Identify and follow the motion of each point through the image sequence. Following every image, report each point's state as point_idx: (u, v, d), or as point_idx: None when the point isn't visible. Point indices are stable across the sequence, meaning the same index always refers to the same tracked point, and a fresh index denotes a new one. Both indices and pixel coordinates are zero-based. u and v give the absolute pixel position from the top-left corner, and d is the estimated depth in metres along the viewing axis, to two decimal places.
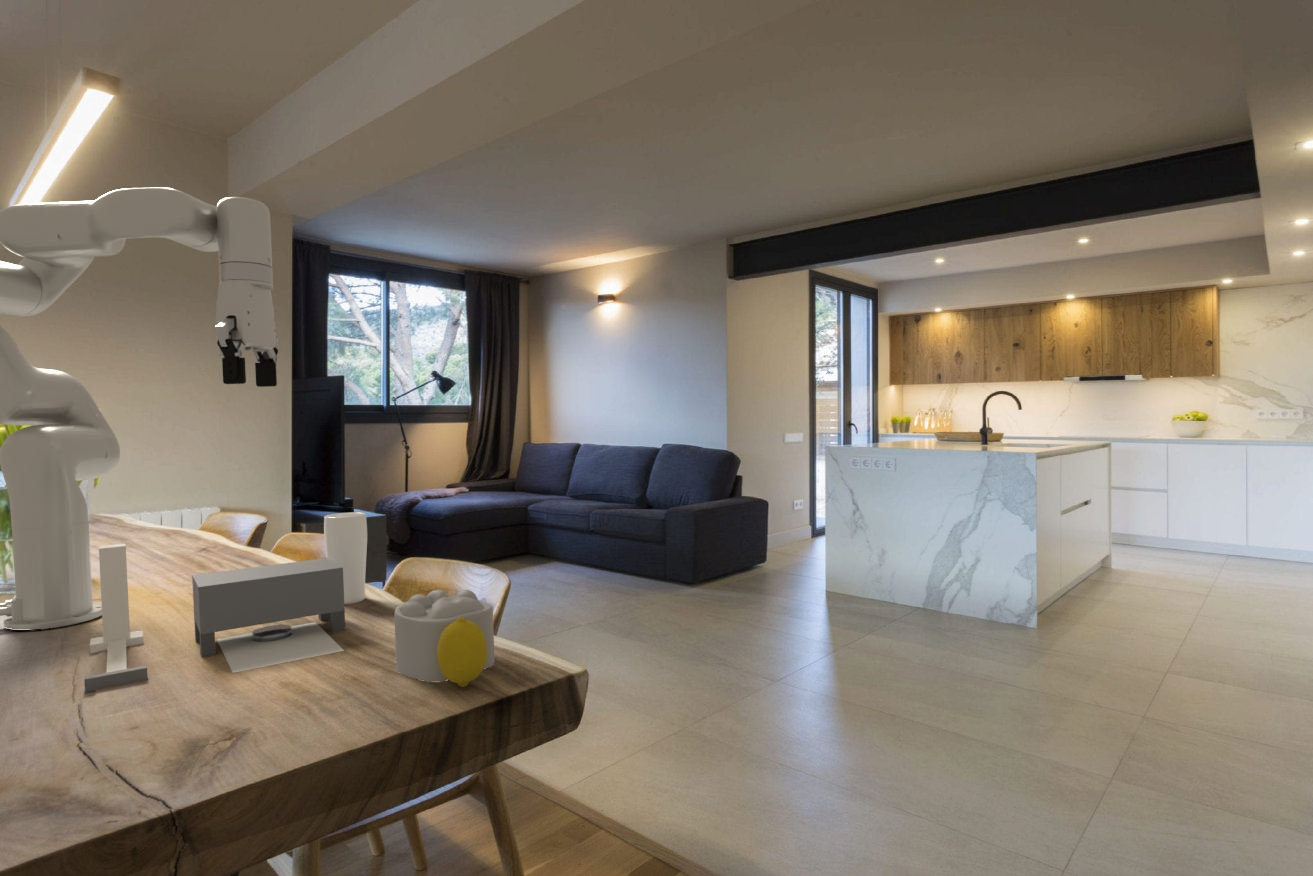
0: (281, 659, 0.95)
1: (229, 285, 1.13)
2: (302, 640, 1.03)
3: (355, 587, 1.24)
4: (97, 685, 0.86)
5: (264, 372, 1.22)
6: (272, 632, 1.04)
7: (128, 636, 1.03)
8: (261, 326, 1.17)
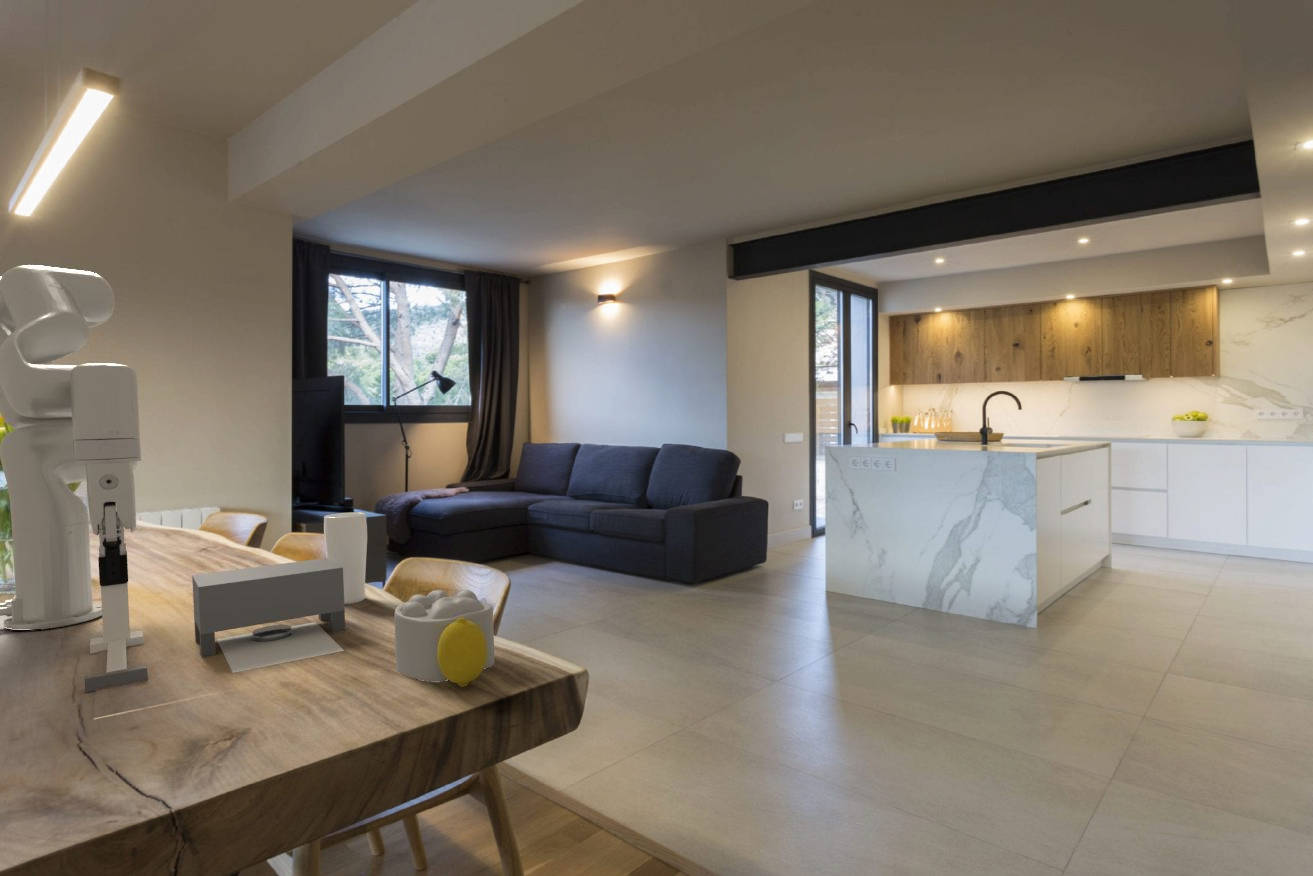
0: (281, 659, 0.95)
1: None
2: (302, 640, 1.03)
3: (355, 587, 1.24)
4: (97, 685, 0.86)
5: None
6: (272, 632, 1.04)
7: (128, 636, 1.03)
8: None
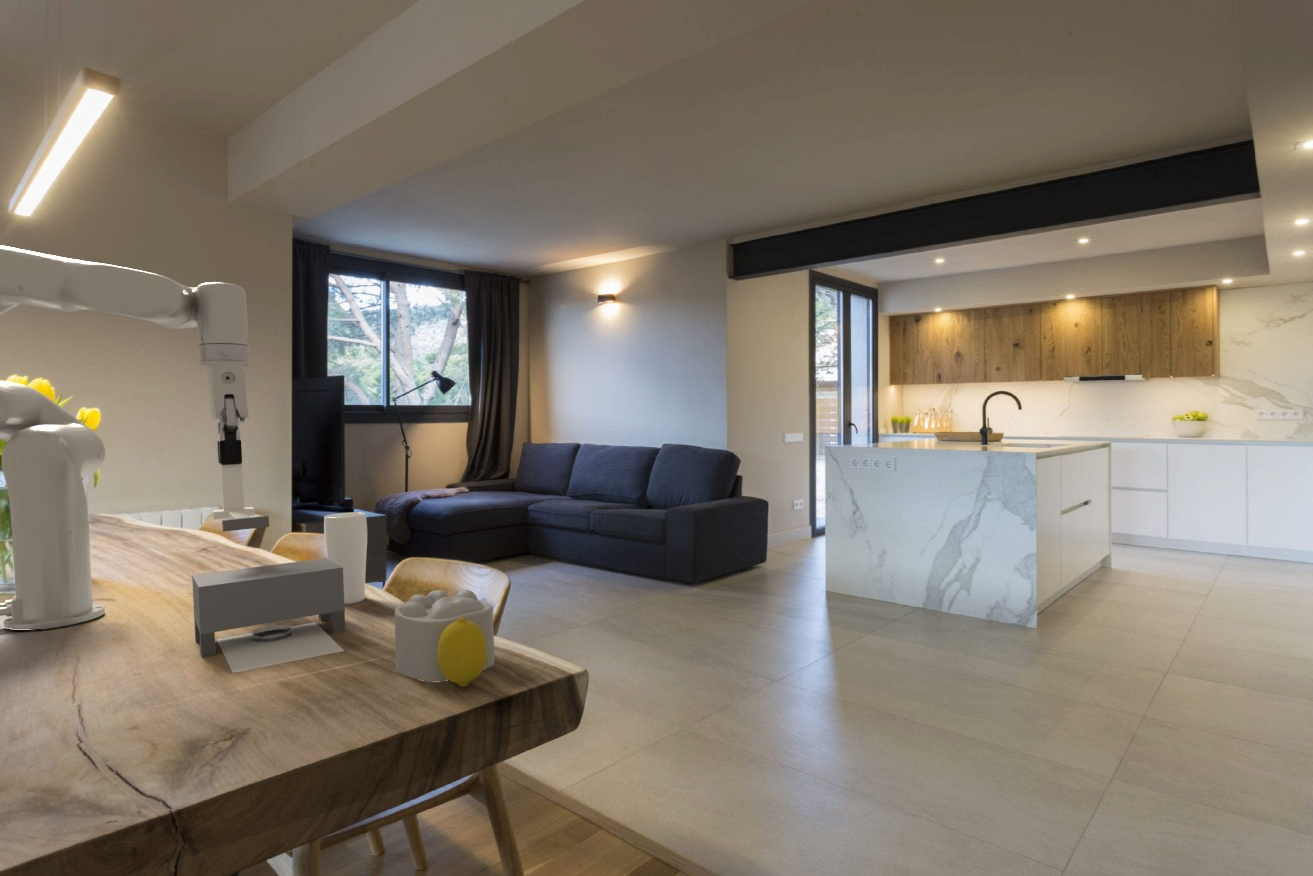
0: (281, 659, 0.95)
1: None
2: (302, 640, 1.03)
3: (355, 587, 1.24)
4: (231, 526, 1.08)
5: None
6: (272, 632, 1.04)
7: (242, 508, 1.25)
8: (210, 403, 1.25)
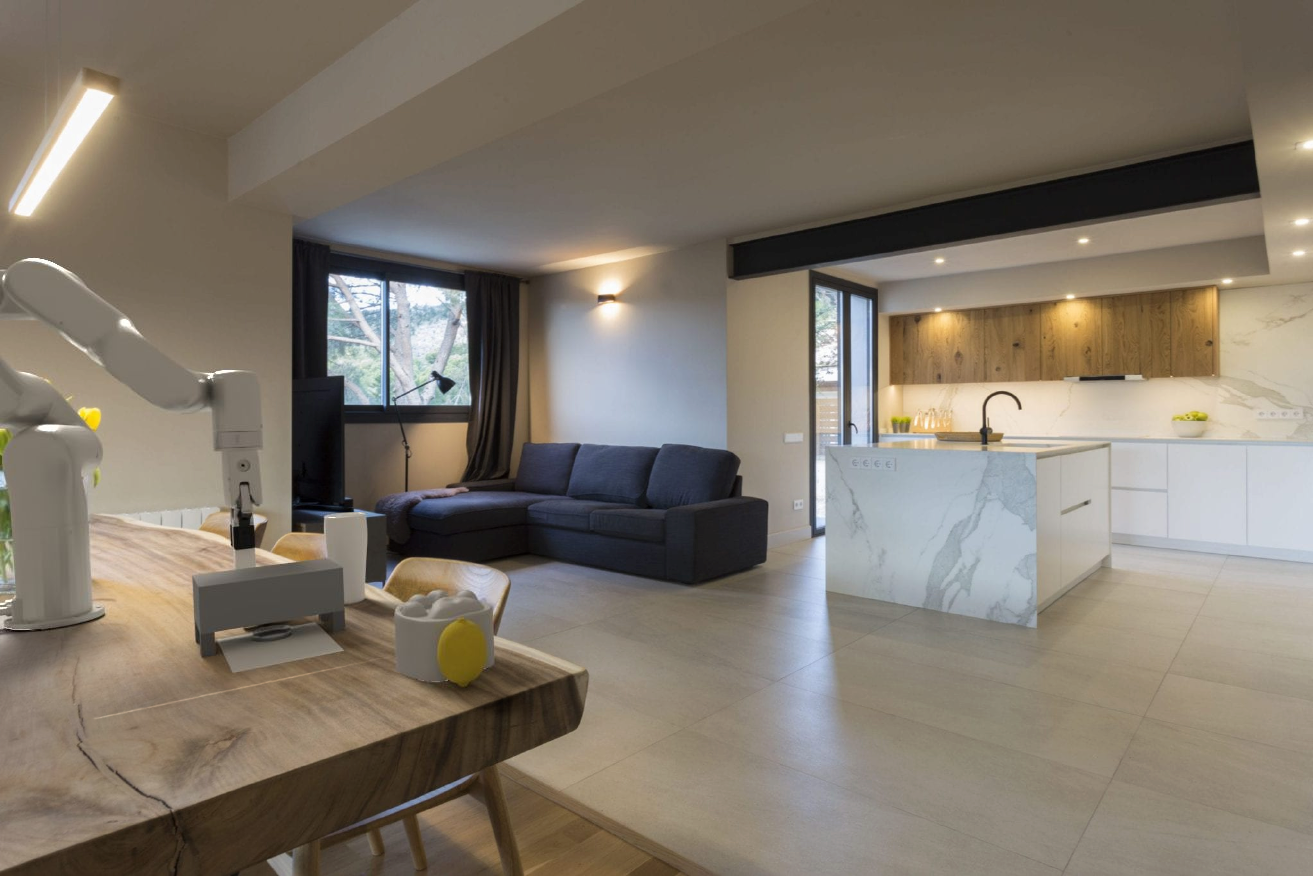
0: (281, 659, 0.95)
1: None
2: (302, 640, 1.03)
3: (355, 587, 1.24)
4: None
5: None
6: (272, 632, 1.04)
7: None
8: (224, 487, 1.26)
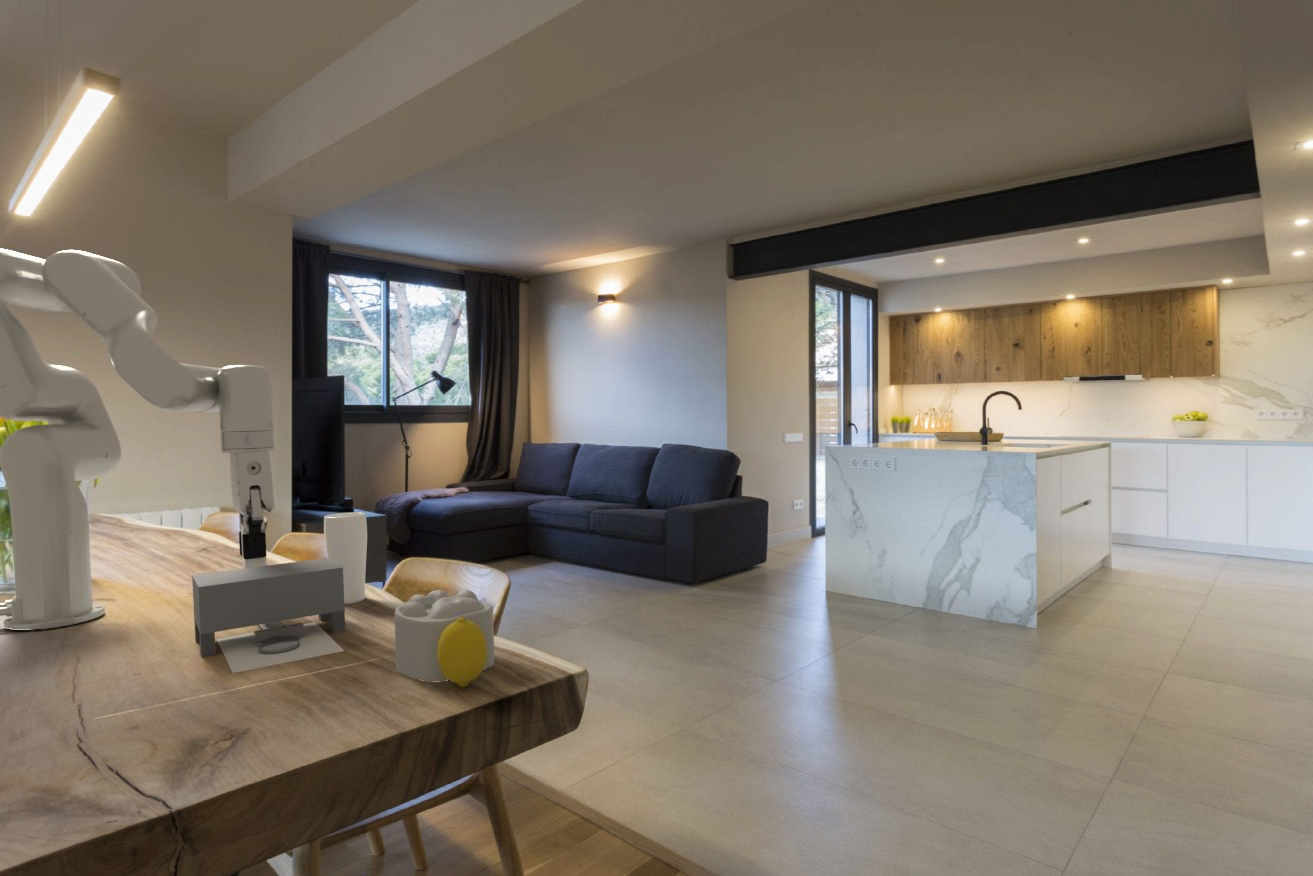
0: (281, 659, 0.95)
1: None
2: (302, 640, 1.03)
3: (355, 587, 1.24)
4: (265, 639, 1.01)
5: None
6: (278, 644, 0.98)
7: None
8: (232, 492, 1.17)
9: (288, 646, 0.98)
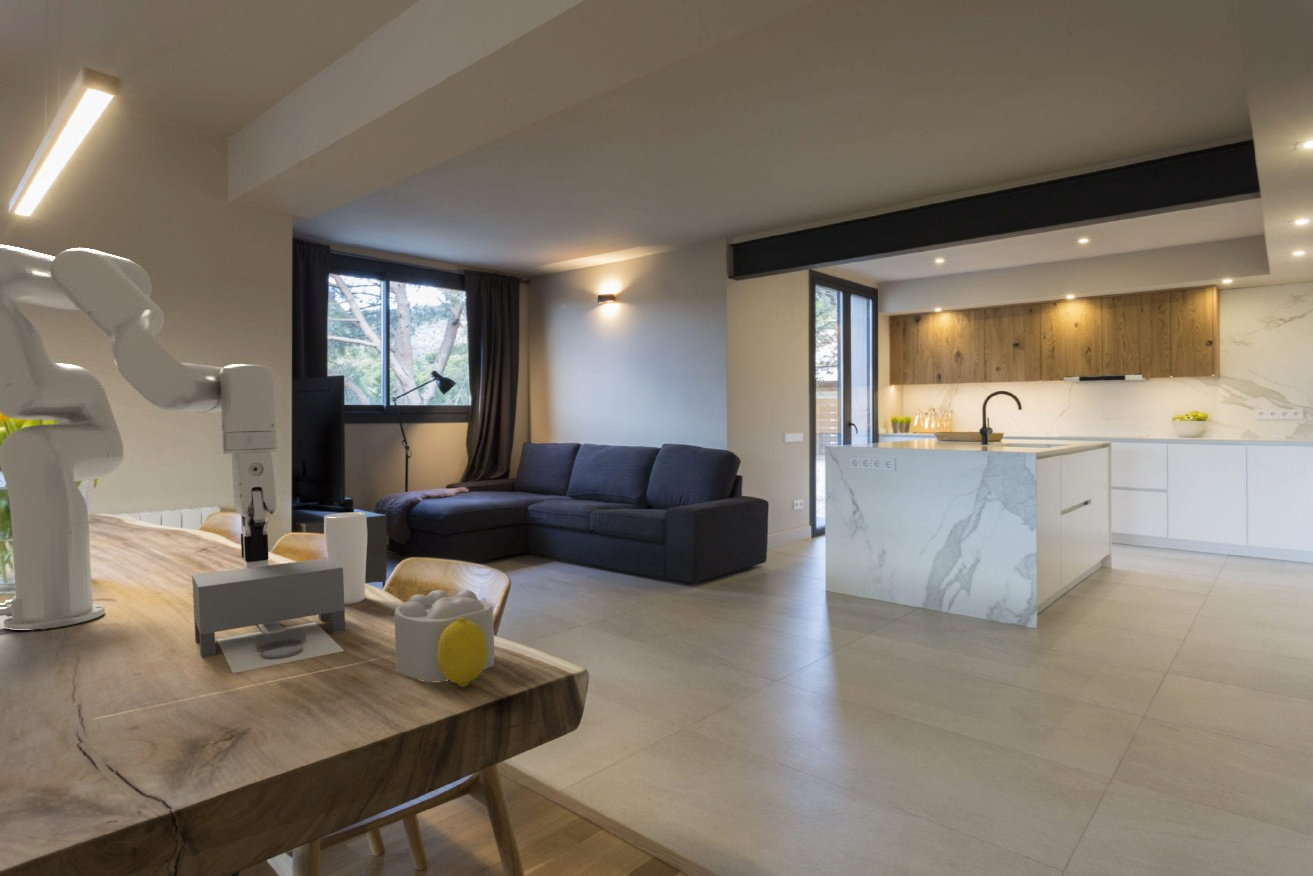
0: (281, 659, 0.95)
1: None
2: None
3: (355, 587, 1.24)
4: (266, 644, 0.99)
5: None
6: (281, 649, 0.96)
7: None
8: (234, 493, 1.15)
9: (292, 651, 0.96)
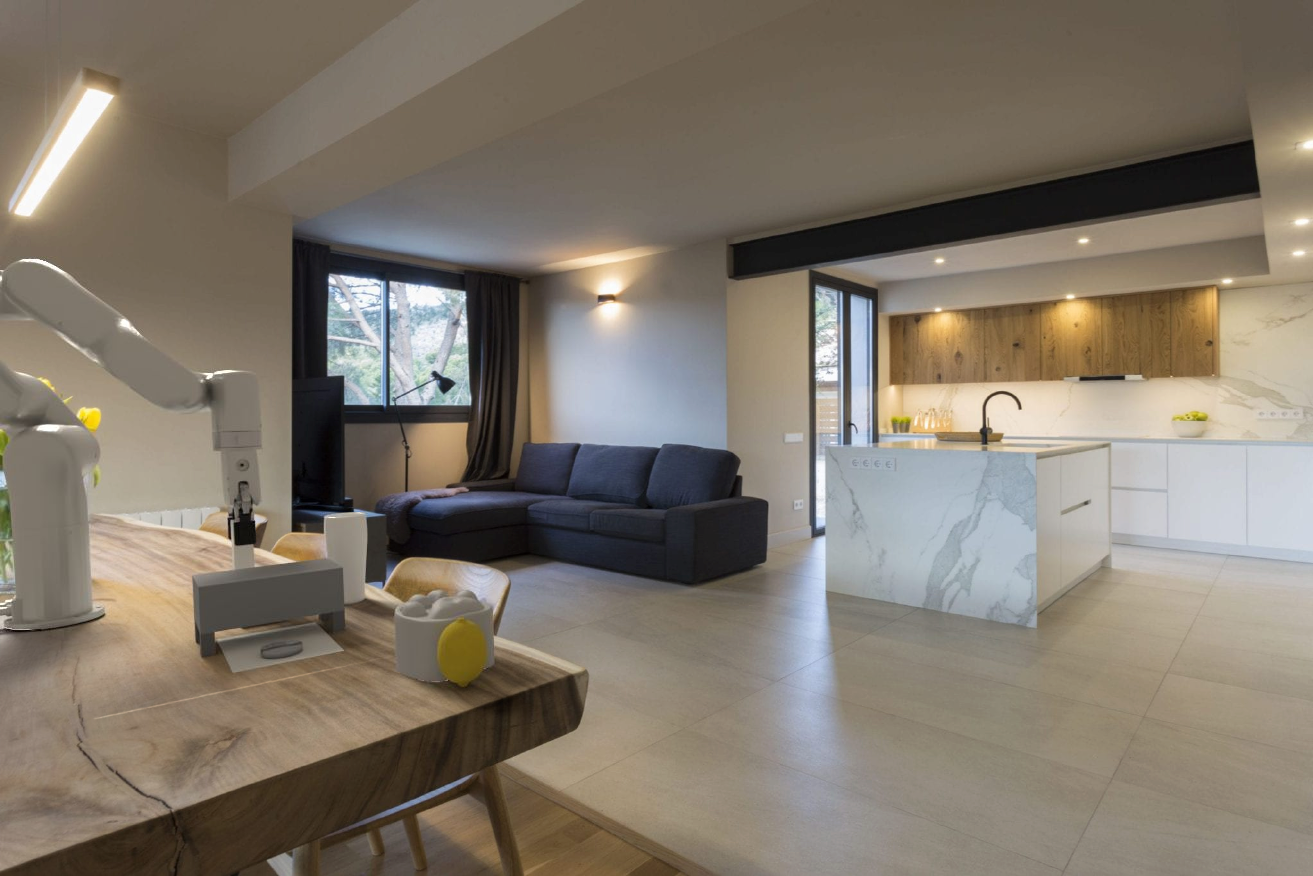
0: (281, 659, 0.95)
1: None
2: (302, 640, 1.03)
3: (355, 587, 1.24)
4: None
5: None
6: (282, 648, 0.96)
7: None
8: (223, 487, 1.27)
9: (293, 650, 0.96)
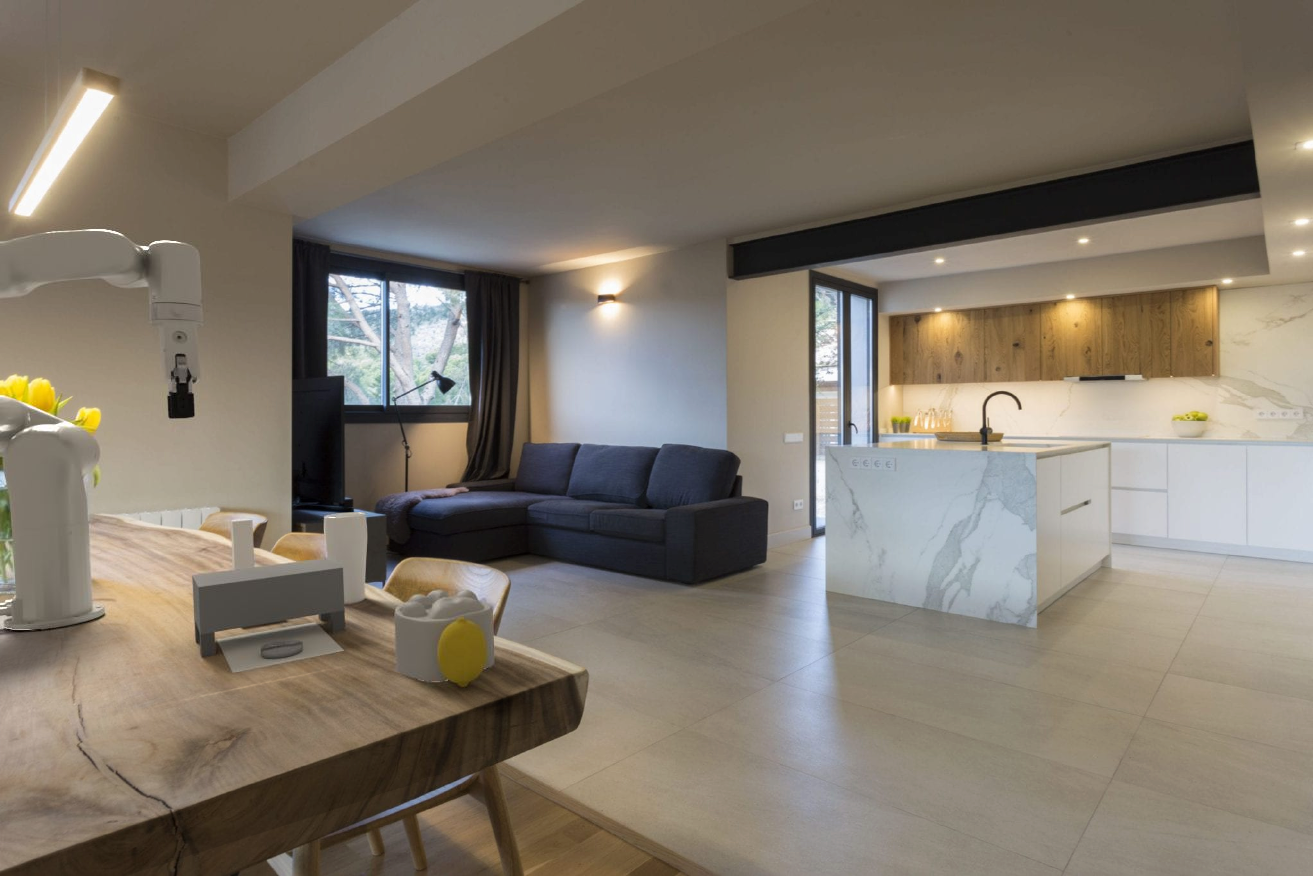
0: (281, 659, 0.95)
1: None
2: (302, 640, 1.03)
3: (355, 587, 1.24)
4: None
5: None
6: (285, 648, 0.96)
7: None
8: None
9: (296, 649, 0.97)
